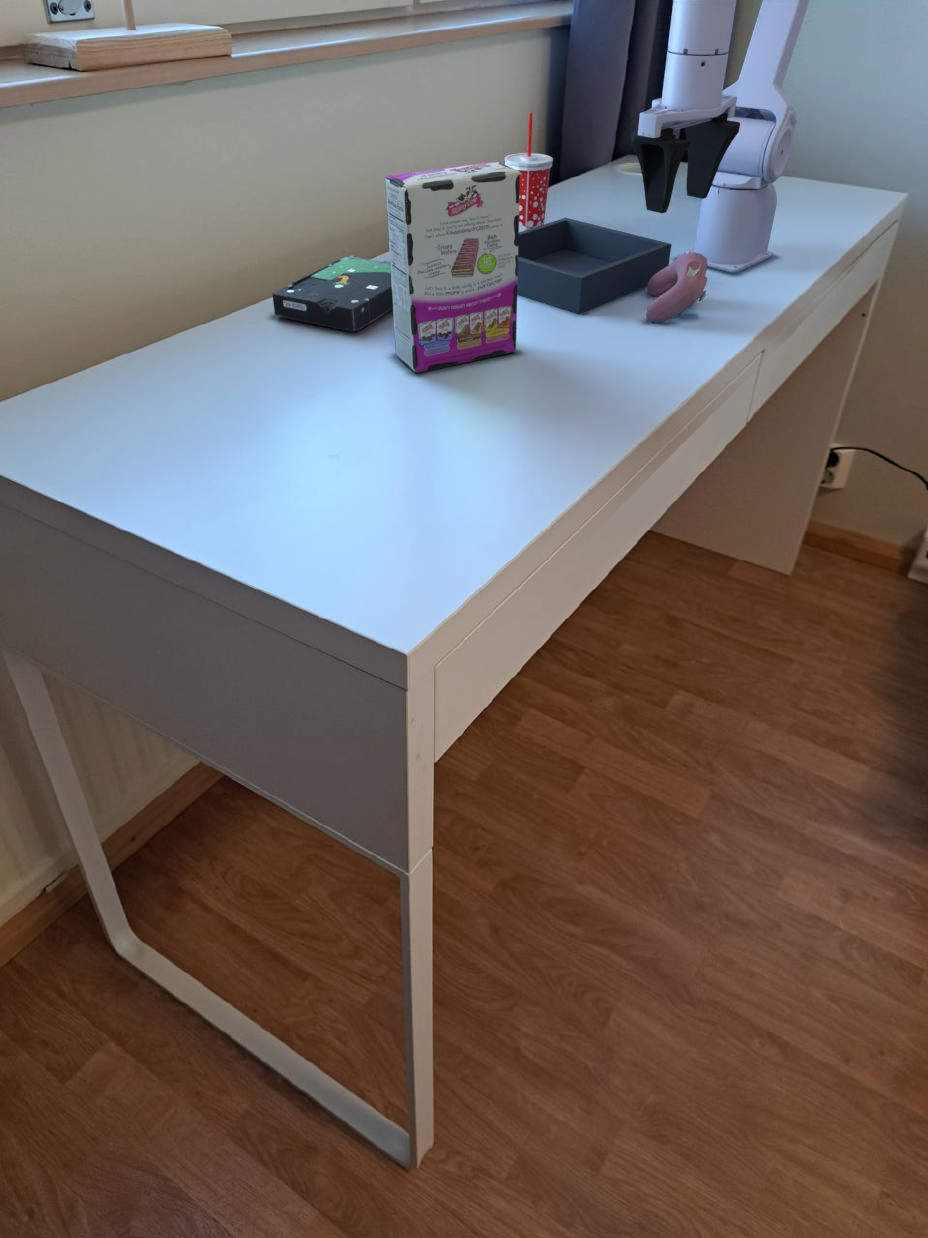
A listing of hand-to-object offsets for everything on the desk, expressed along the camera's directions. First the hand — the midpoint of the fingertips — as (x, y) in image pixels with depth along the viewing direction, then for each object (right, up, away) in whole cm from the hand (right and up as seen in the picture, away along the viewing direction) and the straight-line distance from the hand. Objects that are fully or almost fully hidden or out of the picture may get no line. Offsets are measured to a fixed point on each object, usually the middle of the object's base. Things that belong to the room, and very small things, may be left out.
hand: (677, 203), depth 96 cm
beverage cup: (-14, +8, +26) cm, 31 cm away
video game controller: (0, -10, +4) cm, 11 cm away
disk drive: (-34, -9, +5) cm, 36 cm away
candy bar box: (-23, -18, -6) cm, 30 cm away
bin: (-10, -4, +11) cm, 15 cm away
